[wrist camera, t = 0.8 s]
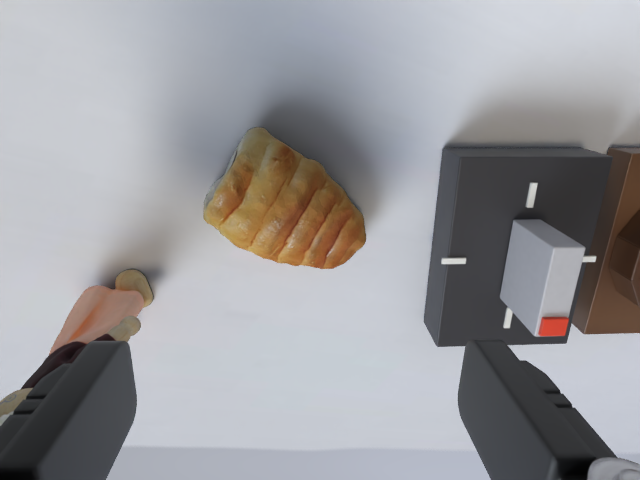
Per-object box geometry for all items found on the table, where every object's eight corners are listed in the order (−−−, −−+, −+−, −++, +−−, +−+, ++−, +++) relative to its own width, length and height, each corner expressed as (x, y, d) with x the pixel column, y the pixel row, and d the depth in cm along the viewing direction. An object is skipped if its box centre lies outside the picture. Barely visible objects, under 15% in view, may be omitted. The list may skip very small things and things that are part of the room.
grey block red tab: (513, 219, 25) (556, 249, 21) (540, 218, 25) (590, 248, 21) (498, 297, 26) (536, 340, 22) (524, 297, 27) (567, 339, 22)
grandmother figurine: (126, 243, 27) (-3, 378, 15) (176, 281, 28) (92, 434, 16) (56, 322, 29) (-108, 498, 17) (106, 355, 30) (-16, 541, 18)
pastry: (384, 198, 27) (398, 218, 23) (327, 282, 29) (331, 313, 25) (249, 116, 25) (241, 124, 21) (196, 213, 27) (181, 236, 23)
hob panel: (436, 147, 26) (454, 157, 23) (586, 147, 27) (622, 157, 24) (418, 321, 30) (431, 349, 27) (547, 319, 31) (573, 345, 28)
